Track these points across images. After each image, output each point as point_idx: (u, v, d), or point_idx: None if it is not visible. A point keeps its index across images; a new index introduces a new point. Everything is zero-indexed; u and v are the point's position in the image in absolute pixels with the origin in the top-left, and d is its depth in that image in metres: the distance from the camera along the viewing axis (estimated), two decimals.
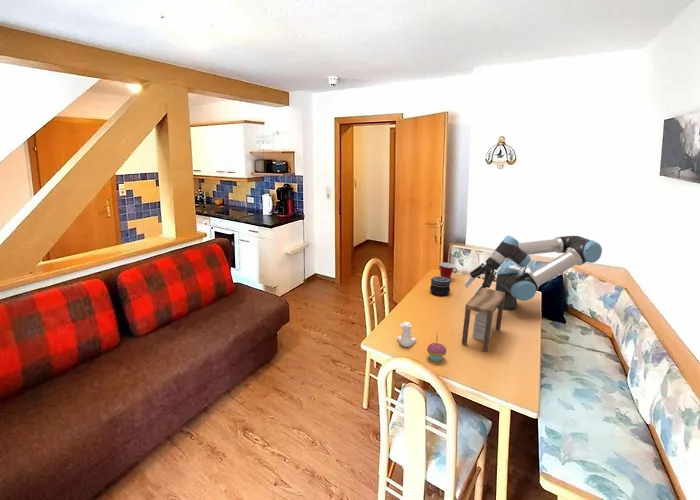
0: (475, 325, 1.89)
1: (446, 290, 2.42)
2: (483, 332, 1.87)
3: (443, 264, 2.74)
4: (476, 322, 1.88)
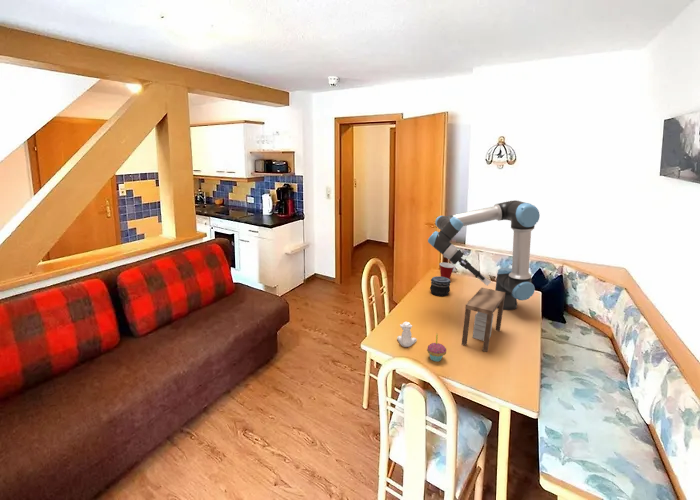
0: (475, 325, 1.89)
1: (446, 290, 2.42)
2: (483, 332, 1.87)
3: (443, 264, 2.74)
4: (476, 322, 1.88)
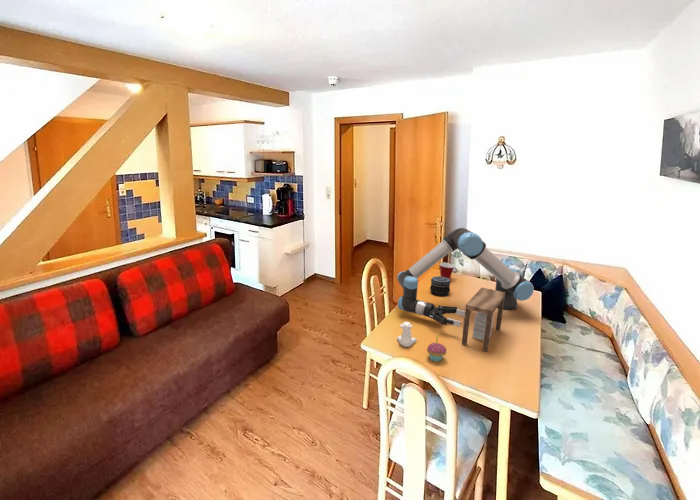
0: (475, 325, 1.89)
1: (446, 290, 2.42)
2: (483, 332, 1.87)
3: (443, 264, 2.74)
4: (476, 322, 1.88)
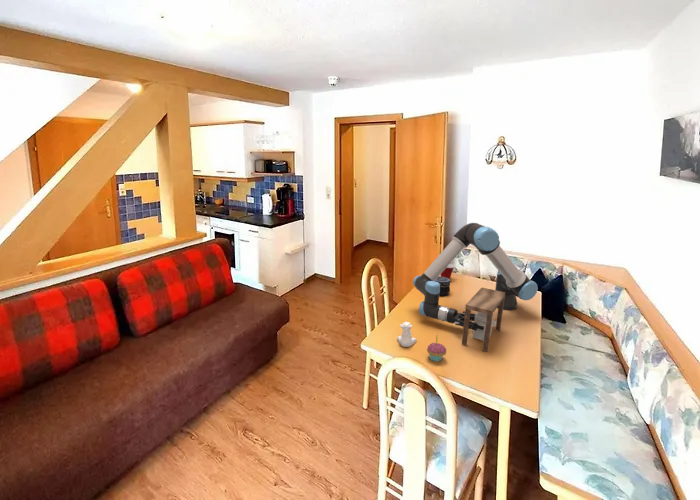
0: None
1: (446, 290, 2.42)
2: (483, 332, 1.87)
3: None
4: (476, 322, 1.88)
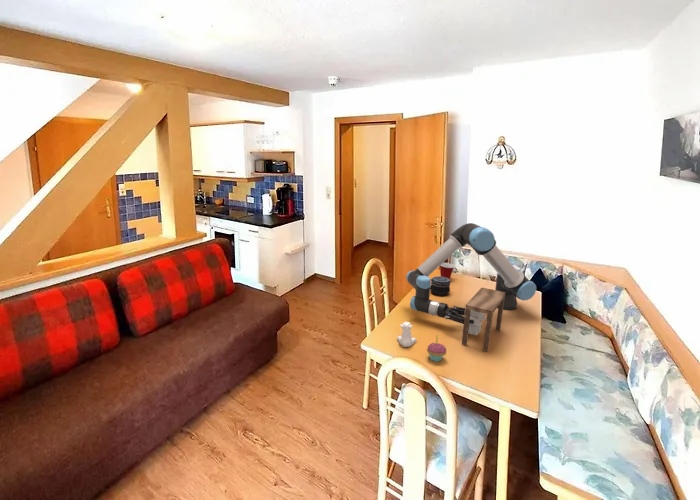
0: None
1: (446, 290, 2.42)
2: (473, 326, 1.89)
3: (443, 264, 2.74)
4: None
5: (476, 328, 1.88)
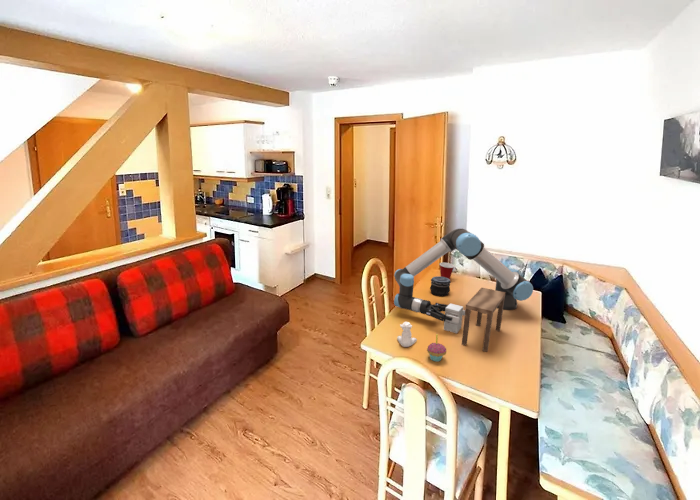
0: None
1: (446, 290, 2.42)
2: (453, 324, 1.95)
3: (443, 264, 2.74)
4: None
5: (456, 326, 1.94)
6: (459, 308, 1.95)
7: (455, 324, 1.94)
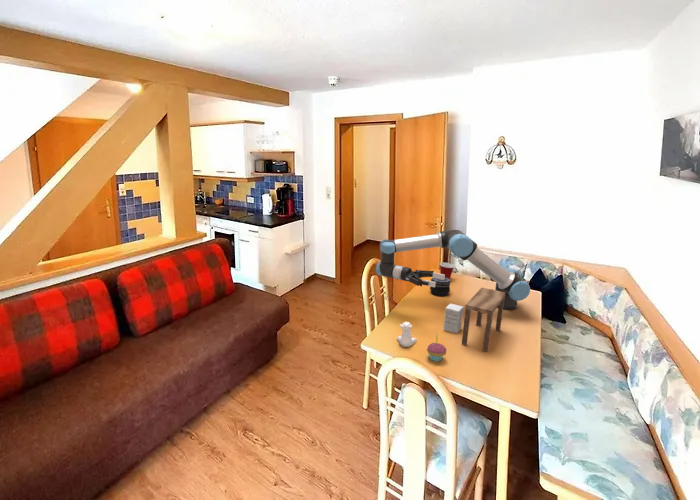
0: (446, 317, 1.96)
1: (446, 290, 2.42)
2: (453, 324, 1.95)
3: (443, 264, 2.74)
4: (446, 315, 1.96)
5: (456, 326, 1.94)
6: (460, 308, 1.94)
7: (455, 324, 1.94)
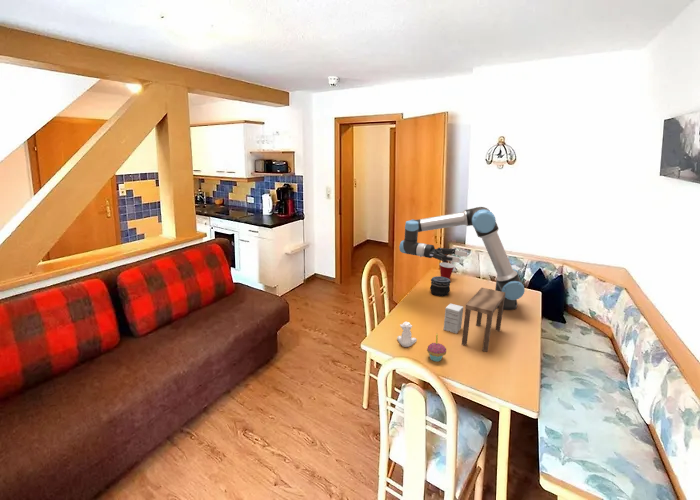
0: (446, 317, 1.96)
1: (446, 290, 2.42)
2: (453, 324, 1.95)
3: (443, 264, 2.74)
4: (446, 315, 1.96)
5: (456, 326, 1.94)
6: (460, 308, 1.94)
7: (455, 324, 1.94)
